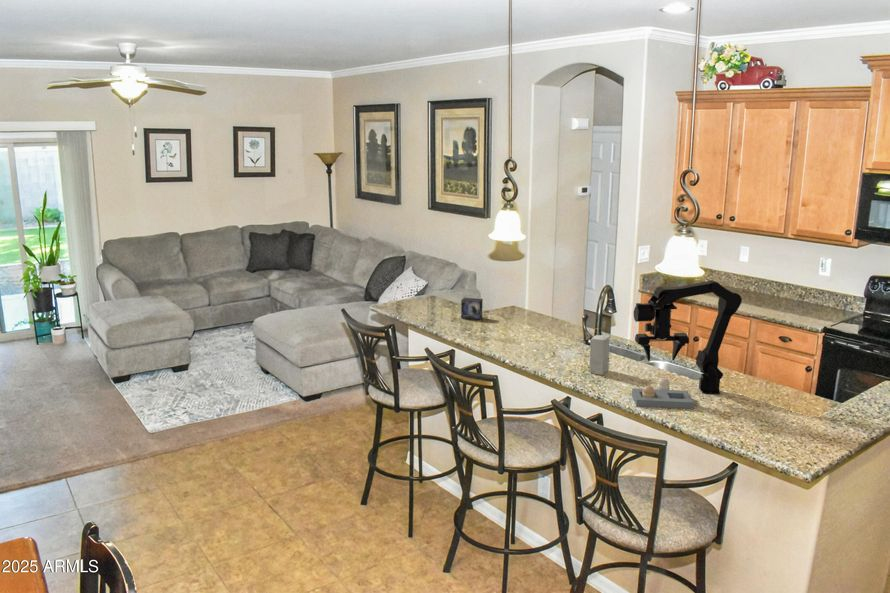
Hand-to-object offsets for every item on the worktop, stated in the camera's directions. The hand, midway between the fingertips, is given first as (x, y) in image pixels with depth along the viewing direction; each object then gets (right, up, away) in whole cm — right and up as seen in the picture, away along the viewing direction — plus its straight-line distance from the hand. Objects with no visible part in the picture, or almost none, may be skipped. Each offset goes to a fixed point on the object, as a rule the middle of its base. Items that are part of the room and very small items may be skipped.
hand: (660, 360), depth 264 cm
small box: (-67, +12, +112) cm, 132 cm away
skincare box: (-18, -7, +26) cm, 32 cm away
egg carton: (-2, -14, -8) cm, 16 cm away
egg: (+1, -12, +2) cm, 12 cm away
